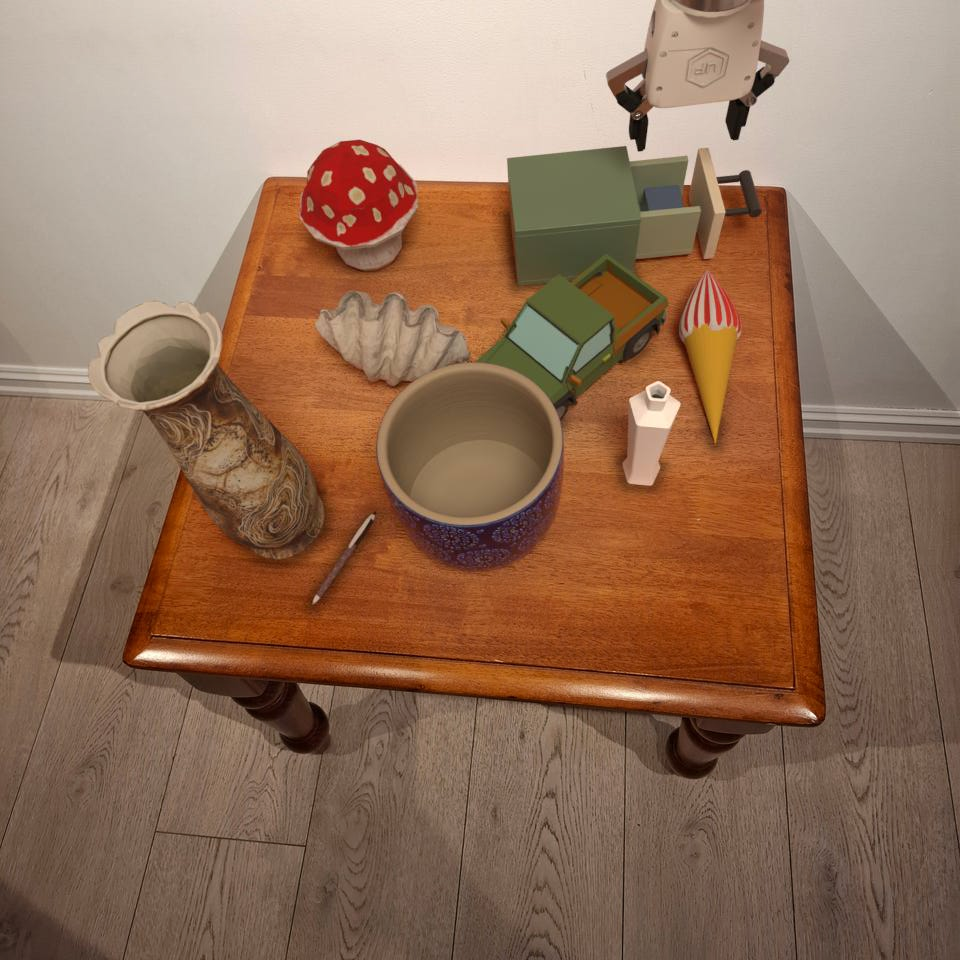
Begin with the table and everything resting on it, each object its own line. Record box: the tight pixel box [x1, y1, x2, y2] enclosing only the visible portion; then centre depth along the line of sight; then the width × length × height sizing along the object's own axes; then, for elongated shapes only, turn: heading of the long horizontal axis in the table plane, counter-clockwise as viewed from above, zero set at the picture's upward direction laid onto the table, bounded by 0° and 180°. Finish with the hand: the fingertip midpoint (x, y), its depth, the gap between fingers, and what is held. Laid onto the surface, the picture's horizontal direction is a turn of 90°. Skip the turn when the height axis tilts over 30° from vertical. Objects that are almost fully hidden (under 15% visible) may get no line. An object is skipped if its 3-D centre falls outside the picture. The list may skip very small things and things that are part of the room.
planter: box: [375, 361, 565, 572], centre depth 79 cm, size 17×17×15 cm
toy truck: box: [474, 254, 669, 422], centre depth 89 cm, size 11×21×10 cm, turn 133°
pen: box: [312, 511, 377, 605], centre depth 84 cm, size 11×1×1 cm, turn 150°
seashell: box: [314, 290, 471, 387], centre depth 90 cm, size 10×15×10 cm
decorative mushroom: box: [299, 139, 419, 272], centre depth 96 cm, size 14×14×15 cm
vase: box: [87, 300, 326, 560], centre depth 74 cm, size 10×11×30 cm
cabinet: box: [506, 145, 641, 287], centre depth 97 cm, size 14×11×9 cm
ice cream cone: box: [678, 268, 743, 445], centre depth 90 cm, size 6×6×20 cm
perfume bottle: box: [621, 380, 681, 487], centre depth 80 cm, size 5×4×15 cm
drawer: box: [629, 147, 763, 260], centre depth 97 cm, size 17×10×7 cm, turn 94°
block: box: [641, 185, 685, 212], centre depth 97 cm, size 4×4×4 cm
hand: (685, 136), depth 87 cm, fingers open, 9 cm apart
